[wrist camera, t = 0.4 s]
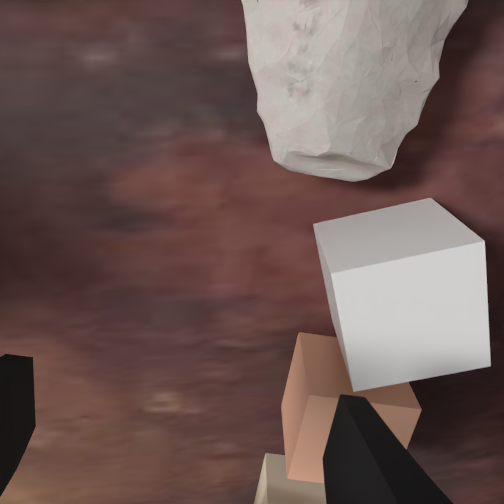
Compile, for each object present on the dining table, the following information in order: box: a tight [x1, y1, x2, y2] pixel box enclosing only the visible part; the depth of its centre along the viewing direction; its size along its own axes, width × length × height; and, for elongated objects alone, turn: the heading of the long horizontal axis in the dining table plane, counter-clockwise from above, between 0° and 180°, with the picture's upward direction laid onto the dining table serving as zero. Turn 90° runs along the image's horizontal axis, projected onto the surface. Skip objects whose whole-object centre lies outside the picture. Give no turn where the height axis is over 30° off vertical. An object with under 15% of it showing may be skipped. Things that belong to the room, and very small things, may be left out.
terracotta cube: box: [281, 332, 422, 483], centre depth 21 cm, size 4×4×4 cm
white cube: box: [313, 198, 491, 392], centre depth 18 cm, size 5×5×5 cm
